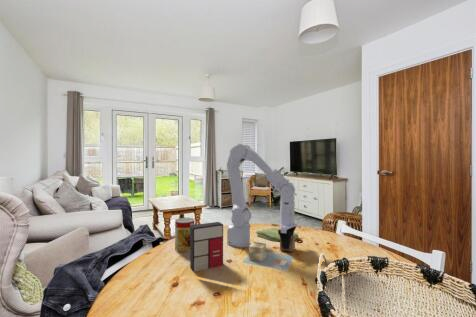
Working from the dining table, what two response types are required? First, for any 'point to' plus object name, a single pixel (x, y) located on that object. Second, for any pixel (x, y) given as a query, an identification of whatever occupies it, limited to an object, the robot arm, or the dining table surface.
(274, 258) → the board
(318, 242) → the dining table surface
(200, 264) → the grey toy cabinet
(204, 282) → the dining table surface
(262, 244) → the birch block
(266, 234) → the washcloth
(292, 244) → the walnut block
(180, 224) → the canned food
